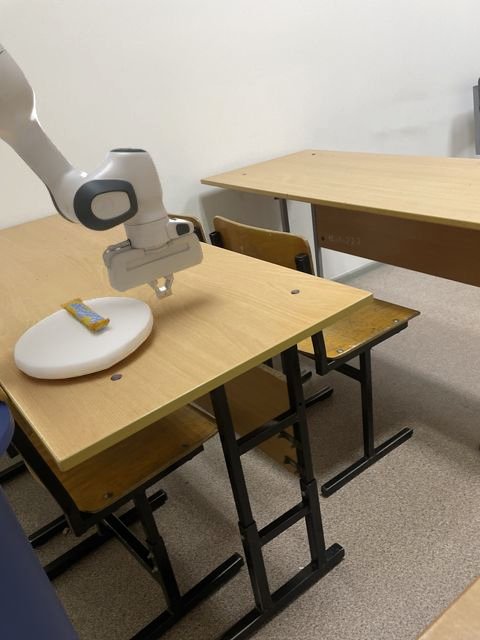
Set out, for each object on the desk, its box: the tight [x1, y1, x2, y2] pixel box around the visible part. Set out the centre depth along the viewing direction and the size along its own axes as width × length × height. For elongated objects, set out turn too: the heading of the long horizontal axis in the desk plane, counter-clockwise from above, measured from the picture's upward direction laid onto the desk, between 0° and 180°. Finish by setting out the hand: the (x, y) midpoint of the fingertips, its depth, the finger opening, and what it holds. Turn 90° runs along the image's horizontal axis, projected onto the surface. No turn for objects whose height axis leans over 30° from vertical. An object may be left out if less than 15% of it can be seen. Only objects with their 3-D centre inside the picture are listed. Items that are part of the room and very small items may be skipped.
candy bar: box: [60, 297, 110, 331], centre depth 103 cm, size 17×4×2 cm, turn 38°
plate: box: [13, 296, 154, 380], centre depth 104 cm, size 28×6×27 cm
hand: (164, 296), depth 112 cm, fingers closed
